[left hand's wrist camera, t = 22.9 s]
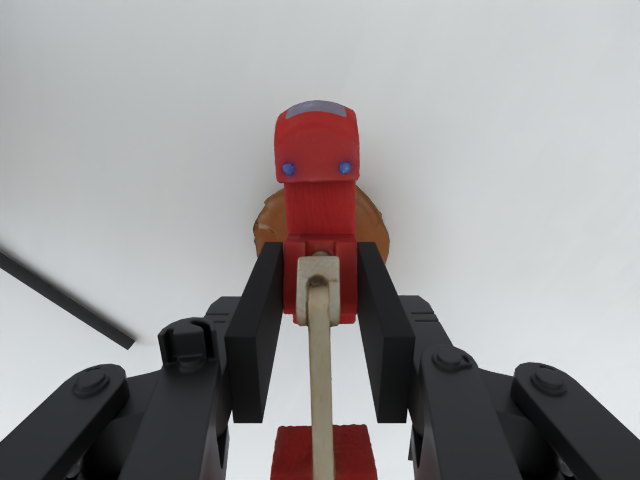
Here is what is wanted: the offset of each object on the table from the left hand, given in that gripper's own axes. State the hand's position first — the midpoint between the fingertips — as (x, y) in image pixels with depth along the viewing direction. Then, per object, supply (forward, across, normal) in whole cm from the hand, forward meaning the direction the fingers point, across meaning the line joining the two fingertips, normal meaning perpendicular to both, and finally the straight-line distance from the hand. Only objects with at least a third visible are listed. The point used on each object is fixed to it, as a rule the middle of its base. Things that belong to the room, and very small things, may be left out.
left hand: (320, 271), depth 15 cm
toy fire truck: (+3, 0, 0) cm, 3 cm away
